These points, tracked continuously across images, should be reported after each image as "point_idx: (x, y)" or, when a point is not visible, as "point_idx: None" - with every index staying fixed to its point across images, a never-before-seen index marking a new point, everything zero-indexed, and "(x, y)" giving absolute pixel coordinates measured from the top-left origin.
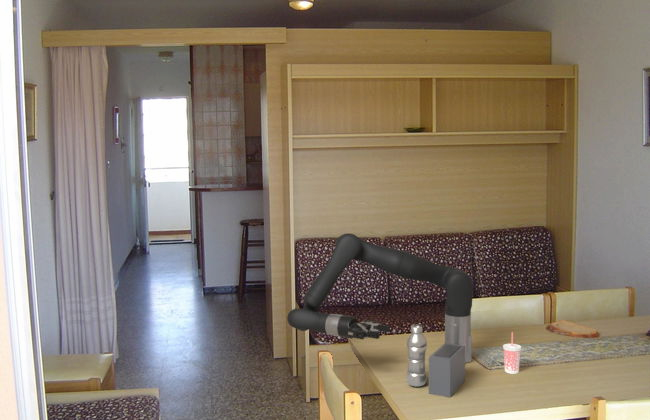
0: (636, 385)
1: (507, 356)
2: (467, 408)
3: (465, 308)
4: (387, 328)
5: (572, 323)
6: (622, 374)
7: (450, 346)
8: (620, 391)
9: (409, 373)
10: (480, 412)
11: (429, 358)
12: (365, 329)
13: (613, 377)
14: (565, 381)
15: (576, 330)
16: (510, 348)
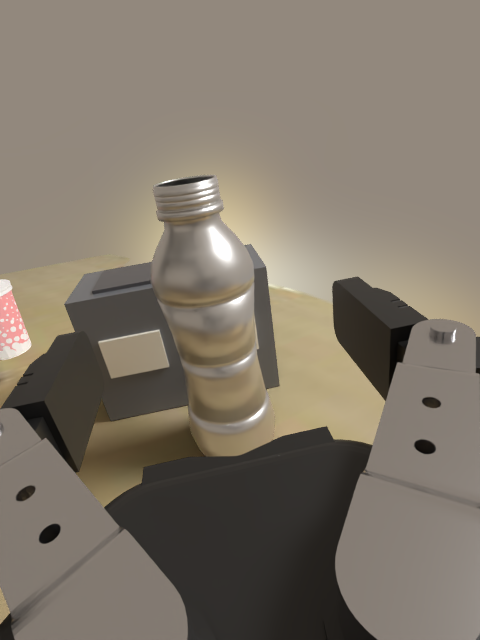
0: (61, 265)
1: (10, 310)
2: (297, 311)
3: None
4: (89, 357)
5: None
6: (12, 280)
7: (115, 278)
8: (92, 265)
9: (265, 404)
10: (297, 296)
11: (265, 271)
12: (423, 361)
13: (29, 280)
14: (64, 296)
15: None
16: (5, 285)
